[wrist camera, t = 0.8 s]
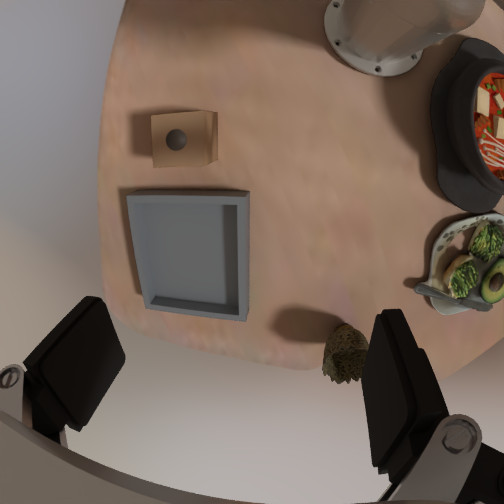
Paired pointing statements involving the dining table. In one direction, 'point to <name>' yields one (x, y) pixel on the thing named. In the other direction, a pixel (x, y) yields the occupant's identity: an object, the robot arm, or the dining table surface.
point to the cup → (345, 354)
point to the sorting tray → (192, 251)
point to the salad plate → (467, 267)
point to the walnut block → (184, 139)
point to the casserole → (470, 126)
